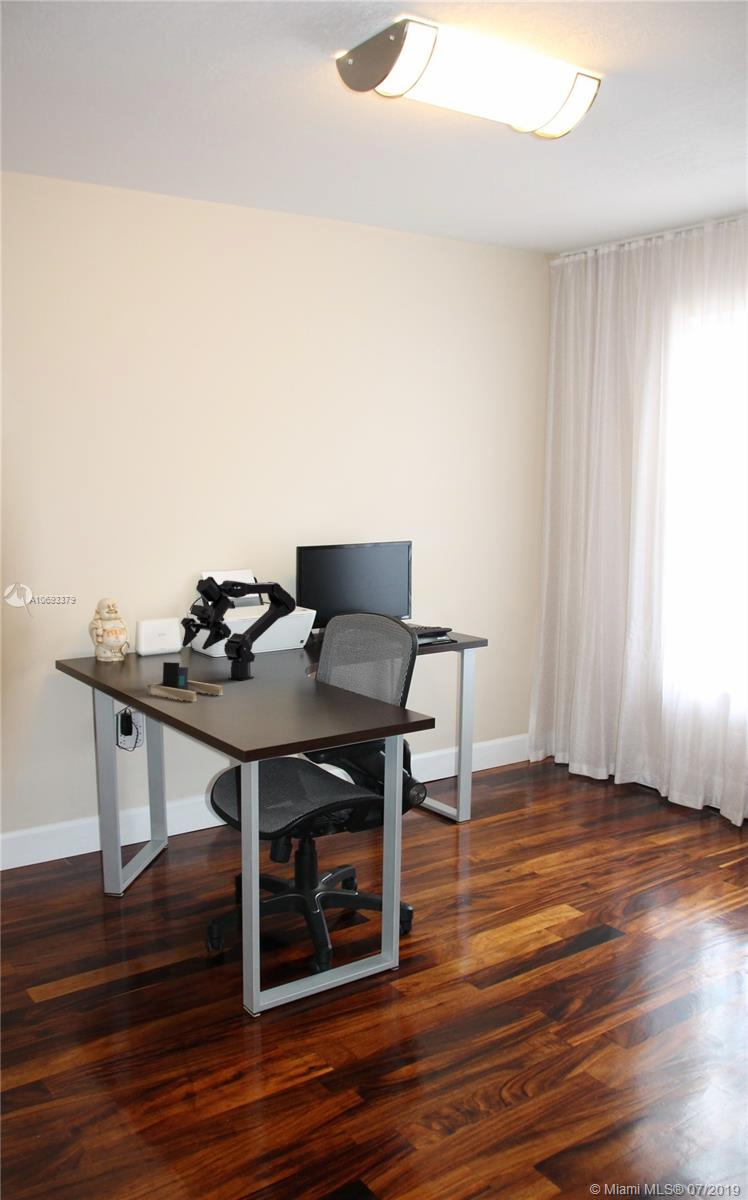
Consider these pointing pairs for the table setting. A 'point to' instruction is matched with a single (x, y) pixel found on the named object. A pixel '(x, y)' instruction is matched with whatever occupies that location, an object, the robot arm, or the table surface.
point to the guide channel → (184, 694)
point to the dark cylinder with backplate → (175, 676)
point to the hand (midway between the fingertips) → (193, 647)
